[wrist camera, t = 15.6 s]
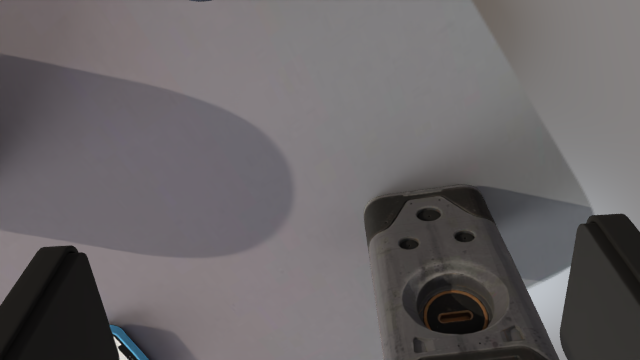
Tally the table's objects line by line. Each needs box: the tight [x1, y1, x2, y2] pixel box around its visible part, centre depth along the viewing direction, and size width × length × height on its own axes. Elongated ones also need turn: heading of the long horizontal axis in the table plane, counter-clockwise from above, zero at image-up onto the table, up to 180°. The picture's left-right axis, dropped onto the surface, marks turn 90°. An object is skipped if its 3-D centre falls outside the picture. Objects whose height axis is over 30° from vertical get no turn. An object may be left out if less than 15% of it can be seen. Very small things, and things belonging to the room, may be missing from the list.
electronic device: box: [364, 185, 559, 360], centre depth 39 cm, size 9×6×20 cm, turn 99°
